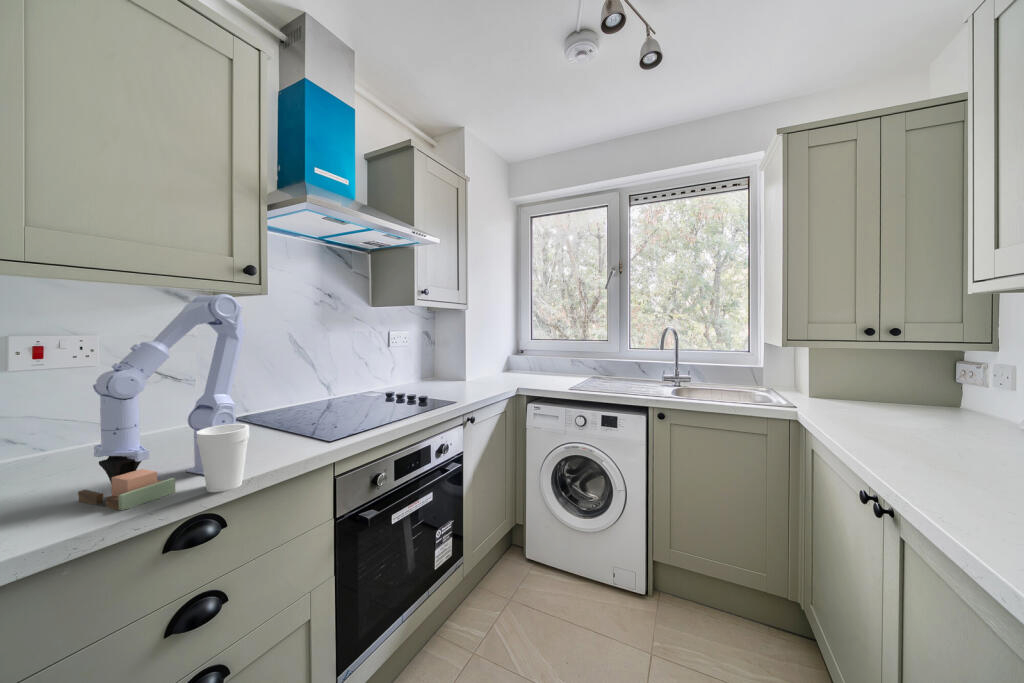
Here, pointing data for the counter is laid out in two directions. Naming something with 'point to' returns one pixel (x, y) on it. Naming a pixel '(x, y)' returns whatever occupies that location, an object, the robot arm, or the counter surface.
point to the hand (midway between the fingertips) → (122, 490)
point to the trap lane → (129, 495)
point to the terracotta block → (133, 481)
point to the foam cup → (223, 455)
